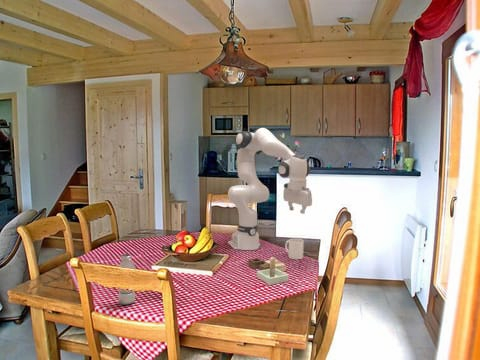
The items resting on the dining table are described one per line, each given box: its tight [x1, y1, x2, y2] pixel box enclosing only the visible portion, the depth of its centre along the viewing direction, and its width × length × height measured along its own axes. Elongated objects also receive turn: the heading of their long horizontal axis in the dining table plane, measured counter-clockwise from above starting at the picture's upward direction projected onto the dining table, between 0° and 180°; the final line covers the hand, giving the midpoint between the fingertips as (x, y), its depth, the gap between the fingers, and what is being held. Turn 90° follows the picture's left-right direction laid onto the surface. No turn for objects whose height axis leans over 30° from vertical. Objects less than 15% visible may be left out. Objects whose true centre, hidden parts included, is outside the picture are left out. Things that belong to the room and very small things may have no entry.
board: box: [263, 258, 287, 273], centre depth 197 cm, size 10×7×4 cm
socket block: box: [247, 257, 265, 270], centre depth 200 cm, size 6×6×4 cm
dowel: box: [269, 256, 276, 278], centre depth 183 cm, size 2×2×10 cm
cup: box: [284, 238, 305, 261], centre depth 219 cm, size 8×12×10 cm
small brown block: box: [259, 264, 270, 271], centre depth 195 cm, size 4×4×3 cm
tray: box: [256, 268, 290, 286], centre depth 184 cm, size 11×11×3 cm
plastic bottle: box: [117, 253, 136, 306], centre depth 154 cm, size 6×7×20 cm
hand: (296, 211), depth 202 cm, fingers open, 8 cm apart
